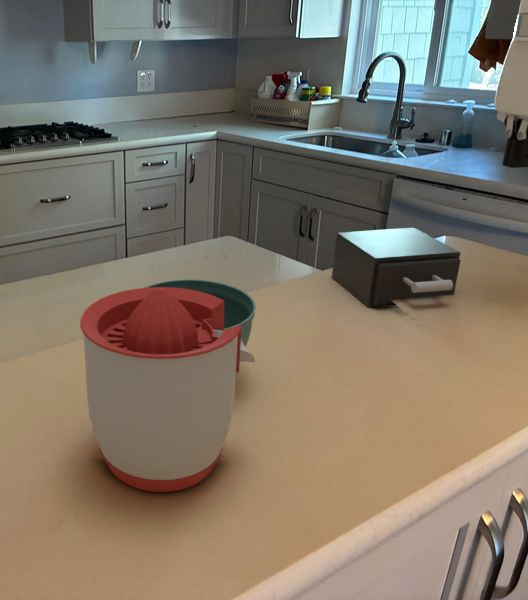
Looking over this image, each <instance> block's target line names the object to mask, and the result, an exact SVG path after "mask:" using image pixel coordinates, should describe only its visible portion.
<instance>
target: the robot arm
mask: <svg viewBox="0 0 528 600" xmlns="http://www.w3.org/2000/svg"><path fill="white" fill-rule="evenodd" d="M494 109H495V110H496V111H497V113H496V119H497V120H498V121H500V122H502V123H503V124H504V126H505V137H506V138H507V141H506V145H505V150H504V155H503V158H502V159H503V160H502V164H501V165H502V167H503V166H504V167H508V168H510V169H516V168H517V169H519V168H528V0H520V4H519V9H518V14H517V17H516V23H515V26H514V32H513V36H512V40H511V42H510V45H509V47H508V50H507V52H506V55H505V58H504V61H503V65H502V67H501V71H500V74H499V79H498V82H497V87H496V92H495V97H494Z"/></svg>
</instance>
